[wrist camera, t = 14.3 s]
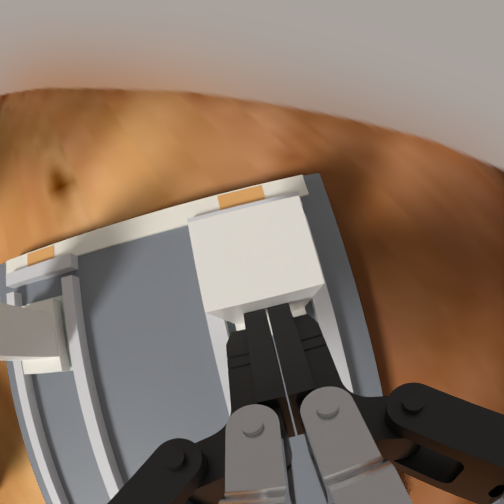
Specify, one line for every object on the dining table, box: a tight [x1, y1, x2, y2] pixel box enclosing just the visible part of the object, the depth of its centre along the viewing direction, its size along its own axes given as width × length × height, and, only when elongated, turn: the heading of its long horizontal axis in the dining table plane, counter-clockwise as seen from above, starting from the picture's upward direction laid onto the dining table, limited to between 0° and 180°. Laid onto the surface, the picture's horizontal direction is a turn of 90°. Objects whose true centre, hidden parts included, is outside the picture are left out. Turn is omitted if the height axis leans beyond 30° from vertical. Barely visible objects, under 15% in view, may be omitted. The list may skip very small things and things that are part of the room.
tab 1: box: [0, 299, 70, 374], centre depth 12 cm, size 3×4×8 cm
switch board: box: [0, 173, 383, 504], centre depth 15 cm, size 22×21×2 cm
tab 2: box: [188, 195, 325, 335], centre depth 12 cm, size 3×4×8 cm
